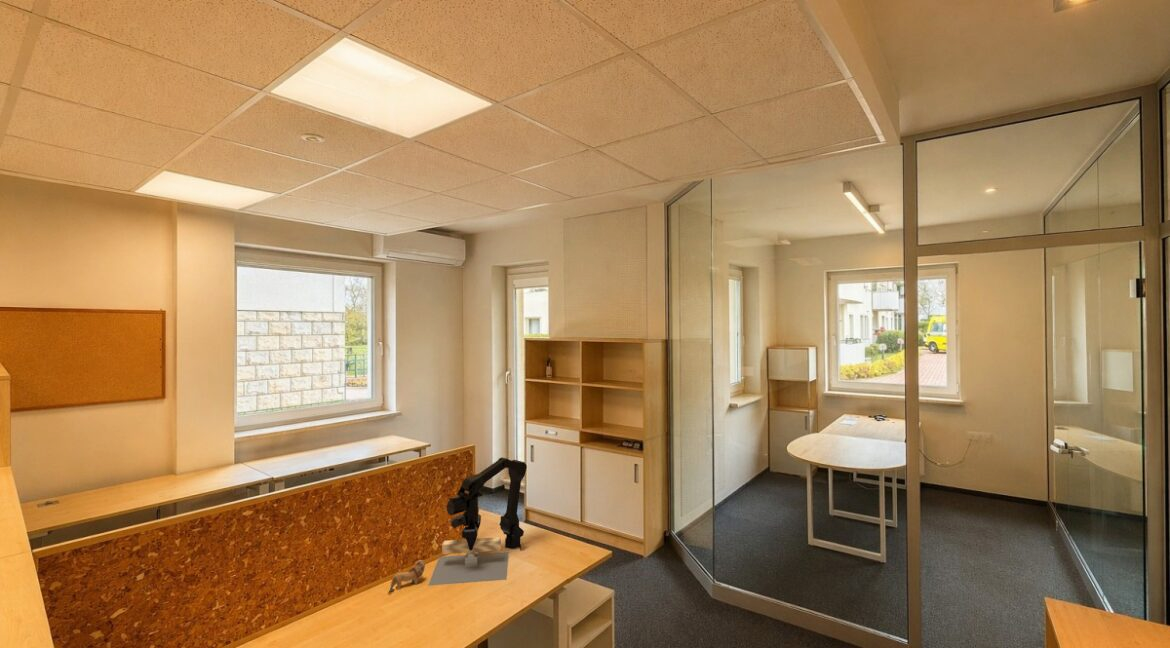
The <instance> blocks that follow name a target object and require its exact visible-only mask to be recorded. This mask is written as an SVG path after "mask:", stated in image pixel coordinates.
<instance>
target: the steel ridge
mask: <svg viewBox="0 0 1170 648" xmlns="http://www.w3.org/2000/svg"><path fill="white" fill-rule="evenodd" d="M479 554H480V552H470V553H465V555H466V556H465V568H466V567H477V566H478V561H479Z"/></svg>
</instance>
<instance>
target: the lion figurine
mask: <svg viewBox="0 0 1170 648" xmlns="http://www.w3.org/2000/svg"><path fill="white" fill-rule="evenodd" d="M425 567H426V564H425V560H423V559H418V560H417V561H415V563H414V565H413V567H412V568H411V569H409V571H404V572H397V573H396V574H394V576H392V578H391V583H390V587H389V590H388V592H387V595H389V594H390V593H391V592H394V591H395V588H394V586H395V585H396V587H397V588H396V590H399V591H400V590H401V585H402V582H406V583H408V582H411V583H412V584H413V583H414V585H415V586H417V585H418V582H419V579H420V578H421V577H422V576H423V573H424V571H425Z"/></svg>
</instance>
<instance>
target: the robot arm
mask: <svg viewBox="0 0 1170 648" xmlns="http://www.w3.org/2000/svg"><path fill="white" fill-rule="evenodd" d="M497 459H498V460H496V461H494V462H493V463H492V464H490V465H489V466H488V467H486V468H485V469H484V470H482V471H481V472H479V473H477V474H473V475H470V476H468V477H465V478H464V479H463V481H462V484H461V486H460V487H459V489H458V491H457V493H456V495H457V496H454V497H453V496H452V497H451V496H450V497H449V498H448V499H449V500H448V501H447V502H446V503H447V504H446V511H447V513H448V515H449V516H454V515H457V514H458V515H457V516H454V517H452V518H451V520H450V525H451V527H452V528H453V529H454V530H455V529H457V528H458V527H461V526H463V529H462V530H461V538H462V539H466V540H467V543H468V546H469V550H472V549H473V547H474V544H475V541H476V539H478V535H479V529H480V526H481V522H482V515H480V514H479V511H480V508H479V498H480V497H483V495H484V494H483V493H481V490H482V489H483V488H484V486H485V484H486V483H487V482H488V481H490V480H491V479H492V478H494V477H495V476H497V475H498V474H499V473H501V472H502V471H503V470H505V469H507V470H508V471H507V472H508V477H509V480H510V482H509V488H508V494H507V502H506V511H505V513H504V515H501V516H500V521H499V522H500V523H499V527H500V530H501V531H502V533H503V534H504V535H506V537H505V538H504V547H505V549H511V550H514V549H518V548H519V551H522V544H521V538H522V537H523V536H524V532H525V531H524V529H523V528H521V527H520V518H519V516H518V510H519V509H518V507H519V500H520V492H521V484H522V481H523V479H524V477H525V476H526V473H527V467H528V466H527V463H526V462H524V461H522V460H518V459H511V460H510V459H509V458H507V457H500V458H497ZM460 513H461V514H460Z"/></svg>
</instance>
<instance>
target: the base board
mask: <svg viewBox="0 0 1170 648" xmlns="http://www.w3.org/2000/svg"><path fill="white" fill-rule="evenodd" d="M465 556H466V554H465V555H464V554H463V555H446V556H439V557H438V559H437V563H436V564H435V567H434V569H433V572H432V575H431V577H430V580H429V582H428V586H439V585H453V584H455V585H456V584H468V583H479V582H480V583H481V582H494V581H507V578H508V577H507V576H508V567H509V566H508V565H509V551H506V552H503V551H502V552H492V553H489V552H488V553H479V561H478V566H477V567H466V568H465Z"/></svg>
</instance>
